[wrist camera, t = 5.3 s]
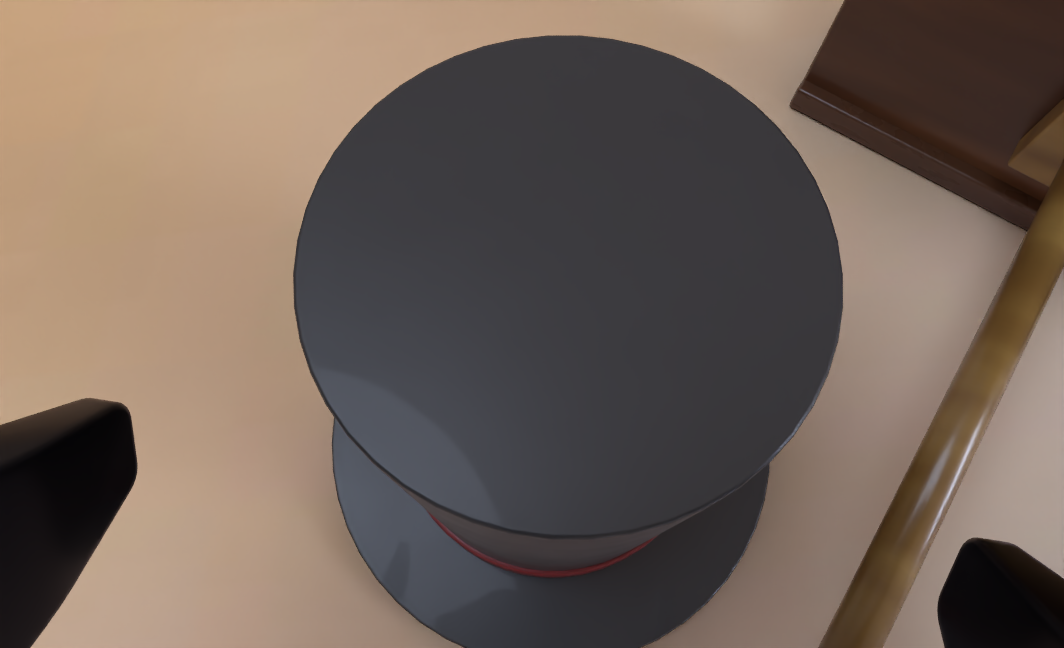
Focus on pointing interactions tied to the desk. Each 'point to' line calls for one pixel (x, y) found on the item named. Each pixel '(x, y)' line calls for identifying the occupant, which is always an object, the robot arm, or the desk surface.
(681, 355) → the top hat
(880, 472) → the desk surface
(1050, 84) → the hook rack
